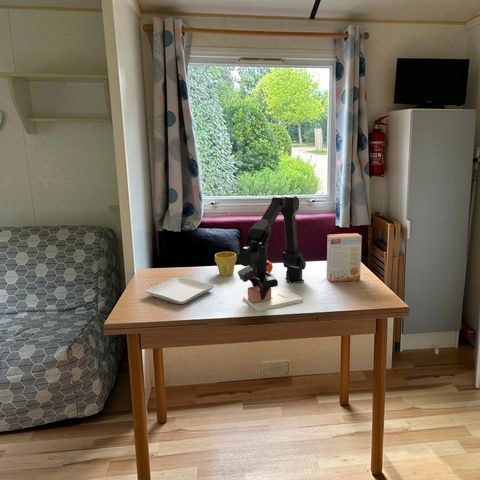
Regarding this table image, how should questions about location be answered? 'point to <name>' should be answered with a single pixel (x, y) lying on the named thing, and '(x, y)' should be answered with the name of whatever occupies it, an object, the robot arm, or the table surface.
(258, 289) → the block
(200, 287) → the salad plate
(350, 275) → the cracker box
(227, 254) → the plant pot
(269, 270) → the clementine
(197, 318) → the table surface
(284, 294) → the board
